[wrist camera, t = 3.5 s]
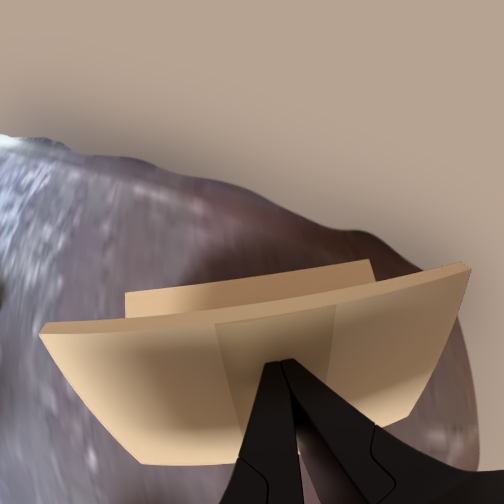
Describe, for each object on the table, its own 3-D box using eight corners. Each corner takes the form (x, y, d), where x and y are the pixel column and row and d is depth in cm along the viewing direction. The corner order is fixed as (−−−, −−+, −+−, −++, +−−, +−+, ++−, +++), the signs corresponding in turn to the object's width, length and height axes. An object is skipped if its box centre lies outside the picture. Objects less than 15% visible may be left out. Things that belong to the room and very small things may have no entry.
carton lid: (403, 408, 11) (408, 417, 11) (142, 454, 10) (140, 465, 10) (460, 261, 8) (473, 270, 7) (46, 322, 6) (37, 336, 6)
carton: (361, 401, 17) (403, 407, 11) (171, 433, 16) (142, 453, 10) (338, 289, 21) (368, 258, 15) (156, 315, 19) (125, 292, 14)
